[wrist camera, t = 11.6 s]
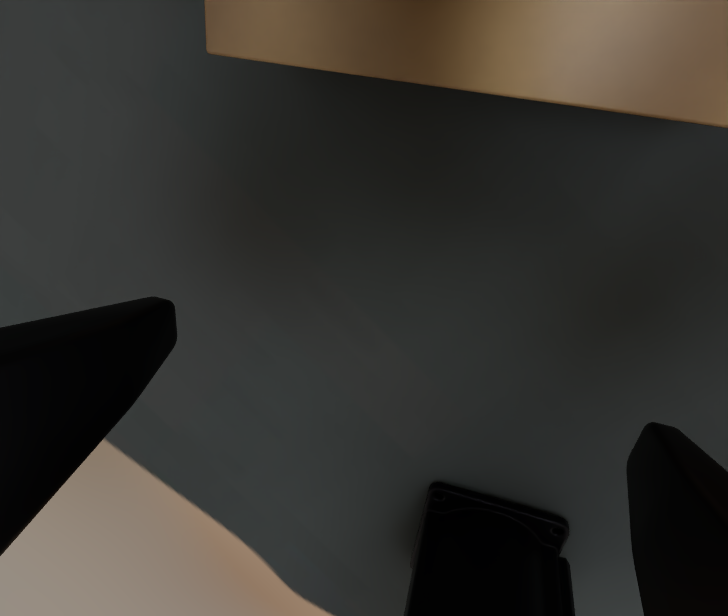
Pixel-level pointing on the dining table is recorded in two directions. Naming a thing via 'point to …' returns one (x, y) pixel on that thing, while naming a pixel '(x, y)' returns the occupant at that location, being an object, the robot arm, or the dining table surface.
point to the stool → (502, 47)
